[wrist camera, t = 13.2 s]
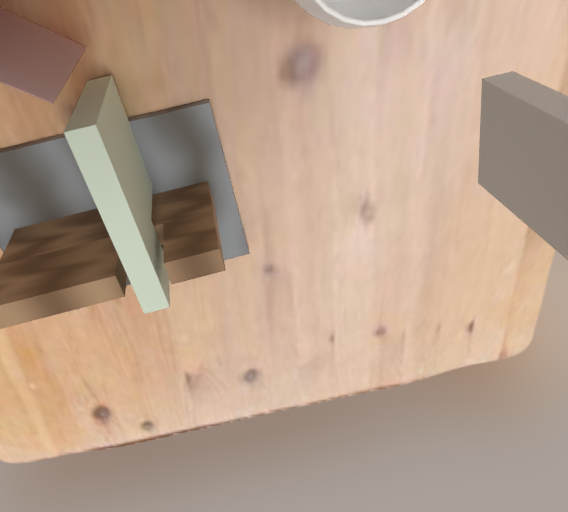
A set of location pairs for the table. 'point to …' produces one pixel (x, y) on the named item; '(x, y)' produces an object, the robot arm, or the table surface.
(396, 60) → the table surface
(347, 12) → the cup
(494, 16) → the table surface
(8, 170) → the wood panel stand
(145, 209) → the sage plate
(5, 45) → the greeting card
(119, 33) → the table surface
